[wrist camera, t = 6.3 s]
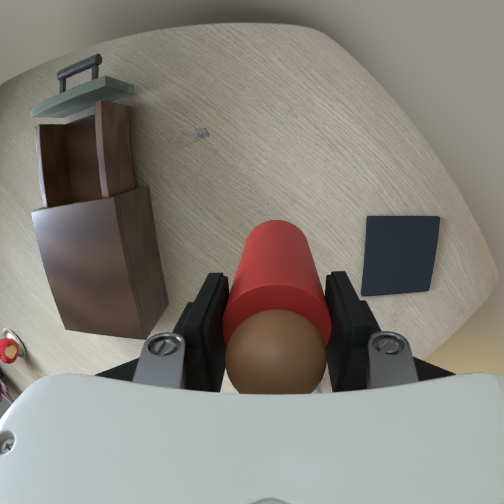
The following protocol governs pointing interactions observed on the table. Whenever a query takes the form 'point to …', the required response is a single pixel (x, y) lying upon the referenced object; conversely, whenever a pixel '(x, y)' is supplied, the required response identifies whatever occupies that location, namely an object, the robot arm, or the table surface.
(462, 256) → the table surface
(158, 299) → the cabinet
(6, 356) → the apple
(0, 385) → the flower
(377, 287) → the coaster
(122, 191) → the drawer
